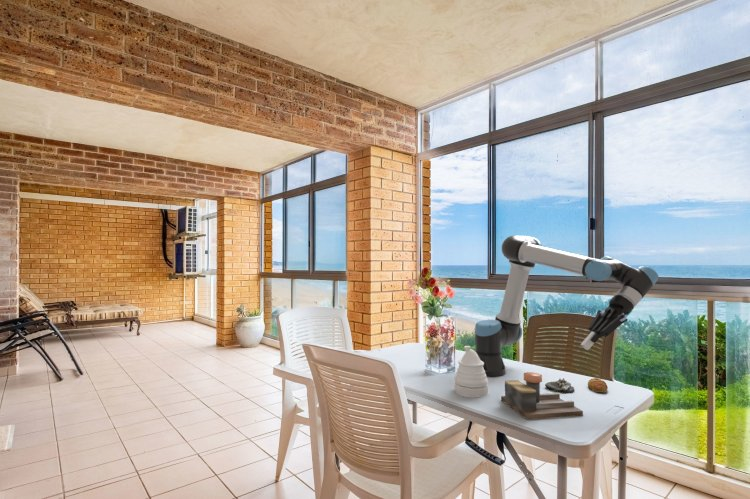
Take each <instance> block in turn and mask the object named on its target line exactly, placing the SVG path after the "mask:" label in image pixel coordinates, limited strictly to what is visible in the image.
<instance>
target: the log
mask: <svg viewBox="0 0 750 499" xmlns="http://www.w3.org/2000/svg"><path fill="white" fill-rule="evenodd" d="M544 385H545V388H546V390H548V391H550V392H552V393H559V394H573V393H575V388H574V386H572V383H571V382H569V381H567V380H565V377H563V378H562V379H561V377H559V378H558V380H556V381H548V382H546V383H545V384H544Z"/></svg>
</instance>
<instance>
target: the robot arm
mask: <svg viewBox="0 0 750 499" xmlns="http://www.w3.org/2000/svg"><path fill="white" fill-rule="evenodd" d="M501 254H502V255H503V257H505V259H507V260H508V263H509V264H510V269H509V273H508V278H507V282H506V286H505V291H504V295H503V299H502V303H501V308H500V312H498V313H496V314H495V319H482V320H479V321H477V322H476V323H475V324H474V325H475V326H474V327H475V328H474V338H475V340H474V341H475V342H474V344H475V345H474V346H475V348H474V349H475V350H474V351H475V352H476V353H477V355H478V356H479V358H480V360H481V361H483V362H484V365H483V368H484V370H485V374H486V377H500V376H504V375H506V365H505V362H504V360H503V356H502V347H505V346H512V345H514V344H516V343H518V342H519V341H520V340H521V338H522V337H523V336H522V335H523V328H522V326H521V320H520V318H519V316H520V312H521V309H522V308H521V307H522V304H523V301H524V296H525V293H526V292H525V291H526V287H527V284H528V279H529V275H530V272H531V270H532V269H534V268H535V265H536V264H537V265H540V266H543V267H544V266H545V267H547V268H552V269H555V270H560V271H564V272H567V273H569V274H570V273H571V274H575V275H579V276H581V277H582V276H583V277H586V278H589V279H590V280H592V281H596V282H603V281H611V280H612V281H614V282H616V283H619V284H620V285H622V286H621V287H620V288H619V289H618V291H616V293H615V295H613V296H612V298H611V299H610V300H609V301H608V306H607V307H606V308H605V309H604V310H602V311H601V310H600V309H598V310H597V312H596V315H595V317H594V318H593V320H592V322H591V323H590V325H589V326H588V328H587V329H588V330H589V331H590V332H589V333H588V334H587V335H586V337H585V338H584V339H583V341H582V342H581V343H580V346H581V347H582V348H583V349H584V350H586V351H589V350H590V349H591V347H593V345H594V344H595V343H597V341H599V339H600V338H602V337H604V338H607V337H608V336H609V335H610V334H612V333H613V332H614V331H615V330H617V328H619V327H620V326H621V325H622V324H625V323H626V322H628V318H627V317H626V316H628V315H630V314H631V312H632V311H633V310H634V308H635V307H636V306H637V305H638V304H639V303H640V302H641V300H642V299H643V298H644V297H645V296H646V295H647V294H648V292H649V291H650V290H651V289H652V288H653V287H654V285H655V284H656V283H657V281H658V280H659V274H658V273H657V271H656V270H654V268H651V267H649V266H645V265H642V266H641V265H640V266H639V267H637V268H635V267H632V266H630V265H628V264H626V263H623V262H622V261H620V260H618V259H616V258H614V257H610V256H609V255H605V256H603V257H601V258H600V259H599V258H594V257H589V256H585V255H581V254H576V253H572V252H571V253H570V252H567V251H564V250H563V251H562V250H557V249H554V248H549V247H544V246H543V245H542V243H541V241H540V240H539V239H537V238H536V237H532V236H530V235H517V234H516V235H515V234H514V235H511V236H508V237H507V238H506V239H504V240H503V242H502V245H501Z"/></svg>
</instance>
